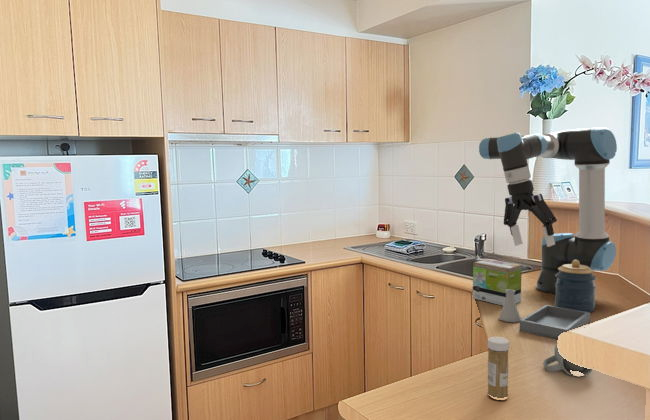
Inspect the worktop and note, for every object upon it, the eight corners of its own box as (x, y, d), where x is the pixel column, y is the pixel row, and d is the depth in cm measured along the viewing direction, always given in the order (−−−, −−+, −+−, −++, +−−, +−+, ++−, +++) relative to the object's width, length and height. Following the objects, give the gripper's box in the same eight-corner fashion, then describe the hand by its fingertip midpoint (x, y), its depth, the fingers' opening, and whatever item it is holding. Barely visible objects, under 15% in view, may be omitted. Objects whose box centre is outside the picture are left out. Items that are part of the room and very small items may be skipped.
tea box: (471, 299, 190) (472, 261, 189) (486, 294, 197) (486, 258, 195) (507, 307, 179) (508, 267, 177) (521, 302, 185) (522, 263, 184)
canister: (553, 302, 184) (554, 255, 183) (592, 305, 180) (593, 257, 178) (555, 311, 172) (557, 262, 171) (597, 315, 168) (599, 264, 166)
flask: (524, 319, 165) (525, 290, 164) (516, 324, 160) (517, 294, 159) (503, 315, 170) (503, 286, 169) (494, 320, 165) (495, 291, 164)
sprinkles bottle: (510, 402, 108) (511, 343, 107) (488, 401, 109) (489, 342, 108) (505, 392, 113) (506, 336, 112) (485, 391, 114) (486, 335, 112)
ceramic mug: (581, 364, 128) (581, 335, 127) (594, 377, 120) (595, 347, 119) (538, 363, 129) (538, 335, 128) (549, 377, 121) (549, 347, 120)
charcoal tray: (545, 314, 169) (545, 304, 169) (589, 323, 160) (590, 312, 159) (519, 331, 154) (519, 320, 153) (566, 341, 144) (567, 329, 144)
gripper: (483, 187, 167) (498, 247, 169) (540, 180, 144) (557, 249, 145) (500, 182, 170) (514, 241, 171) (558, 174, 147) (575, 242, 148)
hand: (534, 245), depth 158 cm, fingers open, 13 cm apart
